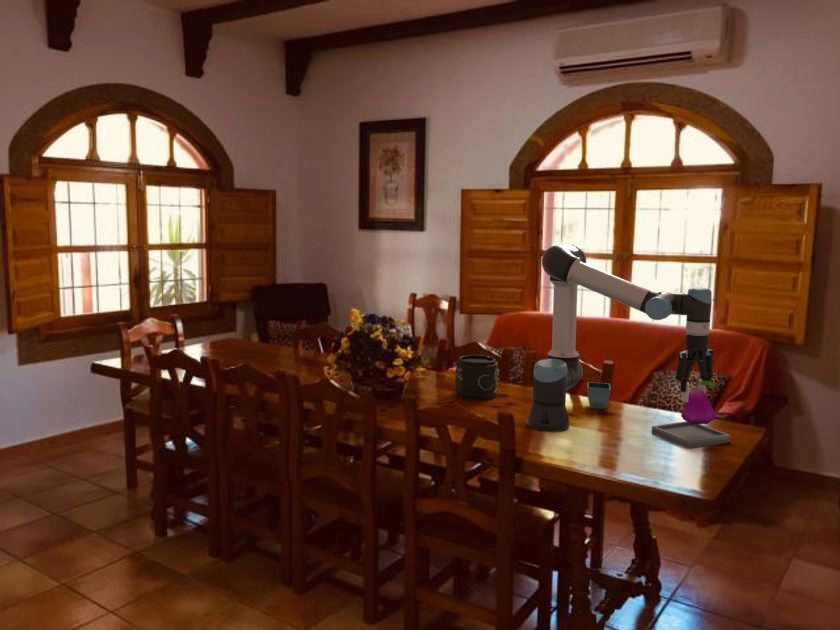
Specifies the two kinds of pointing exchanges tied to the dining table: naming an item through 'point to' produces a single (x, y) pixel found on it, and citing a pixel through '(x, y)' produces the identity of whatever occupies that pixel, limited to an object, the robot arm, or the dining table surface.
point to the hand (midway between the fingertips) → (693, 399)
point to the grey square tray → (690, 434)
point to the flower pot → (598, 394)
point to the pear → (698, 406)
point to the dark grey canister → (476, 377)
